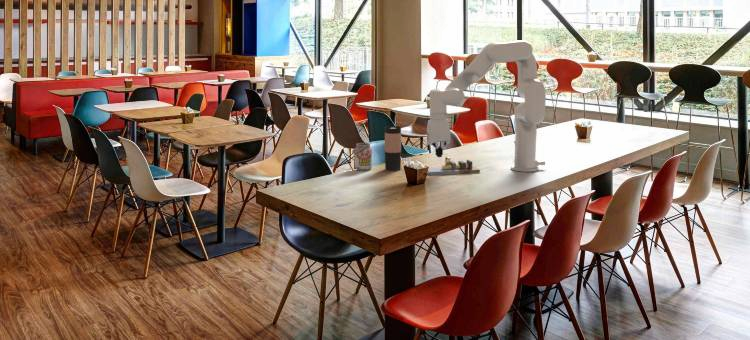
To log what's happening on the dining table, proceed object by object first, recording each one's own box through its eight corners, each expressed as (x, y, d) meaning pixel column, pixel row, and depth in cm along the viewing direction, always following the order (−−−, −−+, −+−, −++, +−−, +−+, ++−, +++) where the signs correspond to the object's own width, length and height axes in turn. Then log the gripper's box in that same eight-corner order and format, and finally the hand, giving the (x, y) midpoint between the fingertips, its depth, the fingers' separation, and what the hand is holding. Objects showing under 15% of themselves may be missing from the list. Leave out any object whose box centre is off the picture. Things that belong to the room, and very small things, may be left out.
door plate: (429, 175, 308) (429, 165, 307) (423, 171, 316) (424, 161, 315) (458, 173, 310) (459, 163, 309) (452, 170, 319) (452, 160, 318)
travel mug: (381, 169, 322) (381, 127, 317) (394, 167, 326) (394, 125, 322) (391, 171, 316) (391, 129, 312) (404, 169, 320) (404, 127, 316)
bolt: (443, 169, 312) (443, 158, 311) (441, 168, 314) (441, 157, 313) (468, 168, 314) (468, 156, 313) (466, 167, 316) (466, 156, 315)
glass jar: (354, 171, 317) (353, 146, 315) (351, 167, 325) (350, 143, 323) (373, 170, 319) (373, 145, 316) (370, 167, 327) (369, 142, 324)
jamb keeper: (458, 173, 310) (459, 163, 309) (452, 170, 319) (452, 159, 318) (479, 172, 312) (480, 162, 311) (473, 169, 321) (473, 158, 320)
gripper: (451, 114, 313) (452, 154, 316) (420, 116, 310) (421, 156, 314) (456, 116, 305) (457, 156, 309) (424, 119, 303) (425, 159, 306)
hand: (439, 156), depth 311 cm, fingers closed
